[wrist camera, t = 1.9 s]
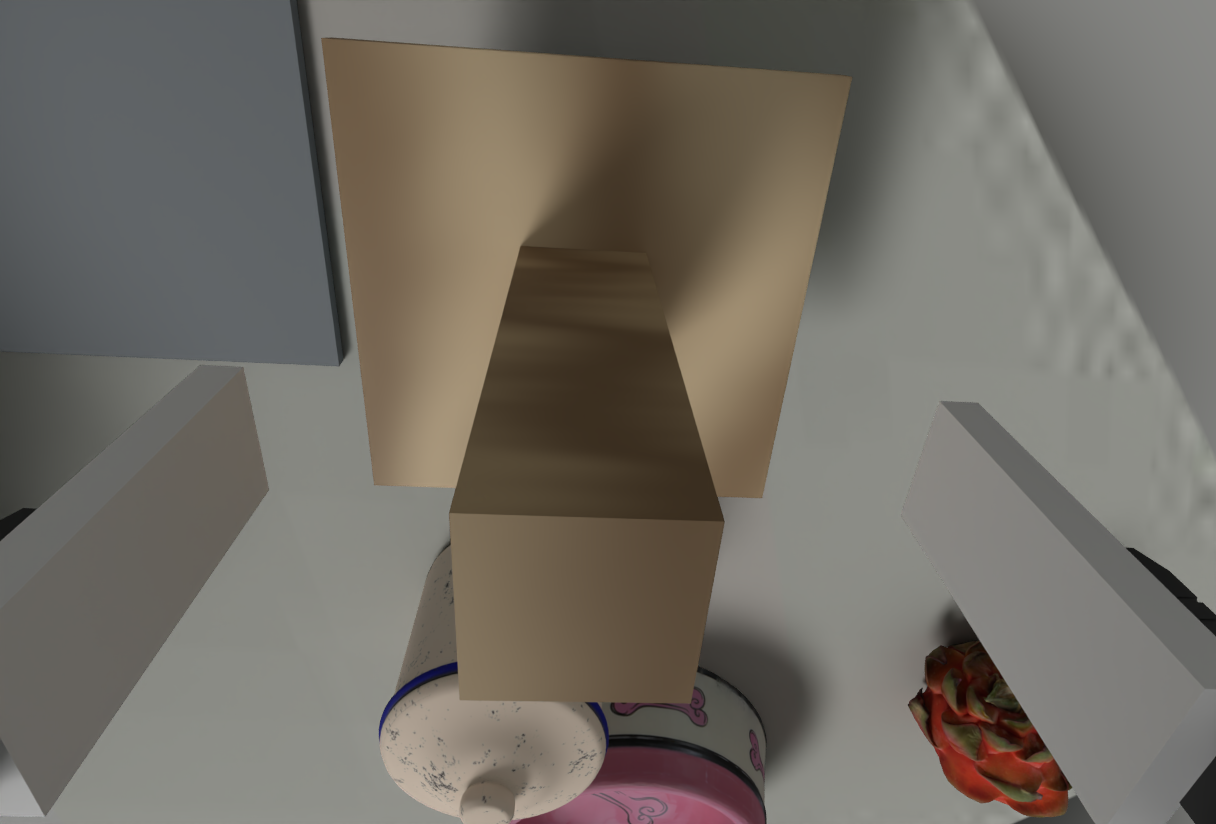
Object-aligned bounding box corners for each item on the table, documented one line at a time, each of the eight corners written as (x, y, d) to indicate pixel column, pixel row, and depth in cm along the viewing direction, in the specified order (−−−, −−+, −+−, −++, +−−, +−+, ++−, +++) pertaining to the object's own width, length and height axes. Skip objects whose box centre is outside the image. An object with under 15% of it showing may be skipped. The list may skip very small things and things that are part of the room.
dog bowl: (604, 597, 36) (610, 712, 30) (827, 744, 42) (867, 862, 37) (399, 768, 42) (369, 891, 36) (620, 873, 49) (626, 992, 43)
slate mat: (11, 345, 28) (0, 351, 27) (-137, -42, 21) (-154, -44, 21) (343, 359, 29) (339, 366, 28) (295, -9, 22) (288, -10, 22)
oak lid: (380, 471, 24) (201, 874, 12) (331, 37, 17) (-123, 61, 6) (756, 484, 24) (906, 873, 13) (841, 75, 18) (1265, 157, 7)
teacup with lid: (508, 677, 38) (482, 914, 28) (383, 583, 35) (301, 815, 24) (684, 568, 35) (728, 793, 25) (566, 451, 31) (560, 659, 21)
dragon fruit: (908, 578, 38) (1000, 656, 44) (844, 726, 36) (949, 786, 42) (1081, 634, 31) (1163, 718, 36) (1011, 822, 29) (1109, 878, 35)
